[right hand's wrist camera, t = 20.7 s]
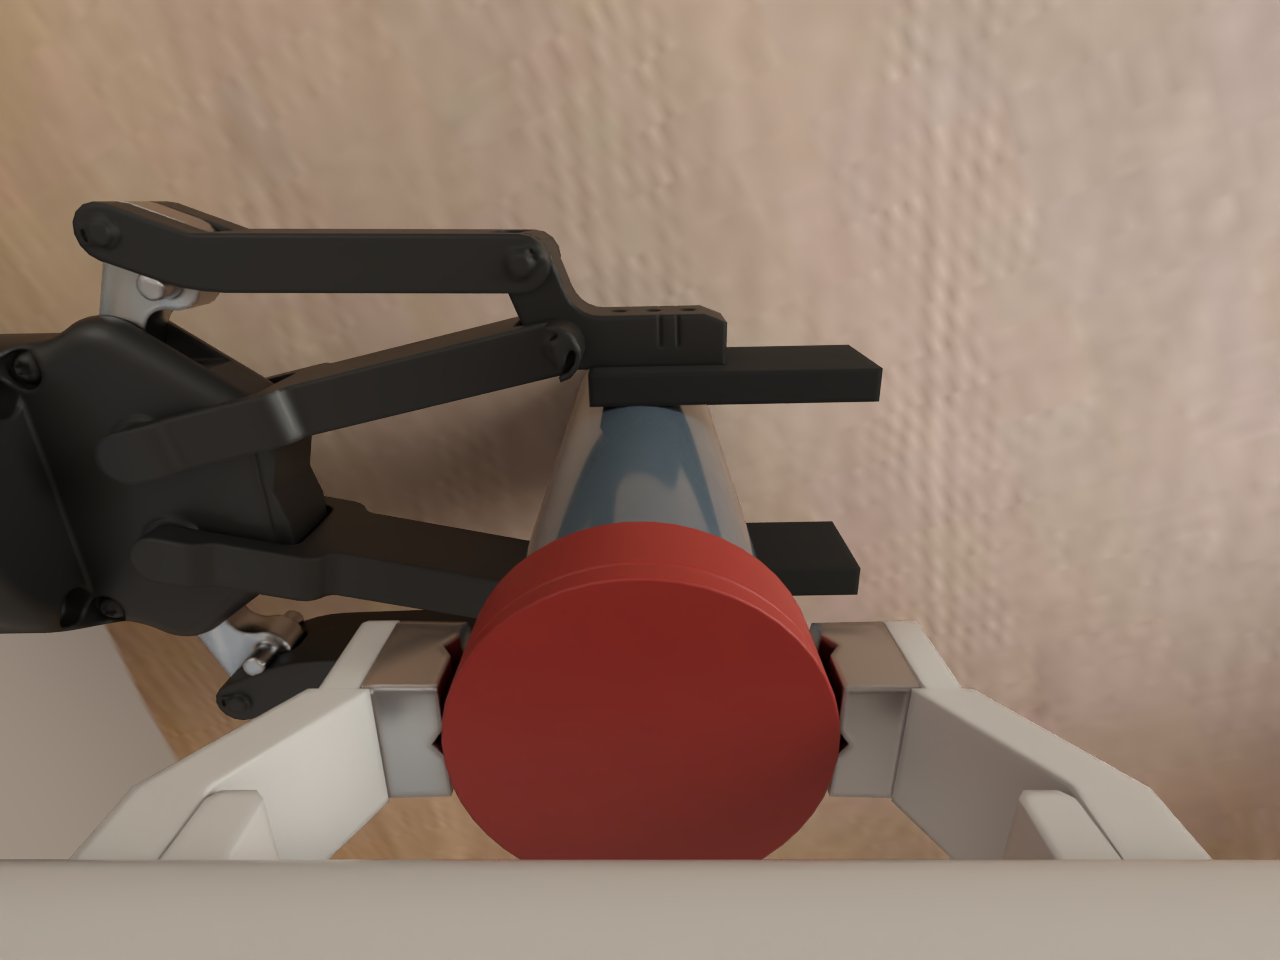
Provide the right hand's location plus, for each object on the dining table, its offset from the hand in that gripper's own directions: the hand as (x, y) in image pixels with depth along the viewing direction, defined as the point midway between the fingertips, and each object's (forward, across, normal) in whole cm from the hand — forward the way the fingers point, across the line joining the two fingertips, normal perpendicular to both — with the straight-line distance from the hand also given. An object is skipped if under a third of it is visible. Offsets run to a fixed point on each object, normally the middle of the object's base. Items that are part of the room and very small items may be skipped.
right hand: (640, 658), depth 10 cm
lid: (-2, 0, 0) cm, 2 cm away
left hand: (+8, -5, 0) cm, 9 cm away
